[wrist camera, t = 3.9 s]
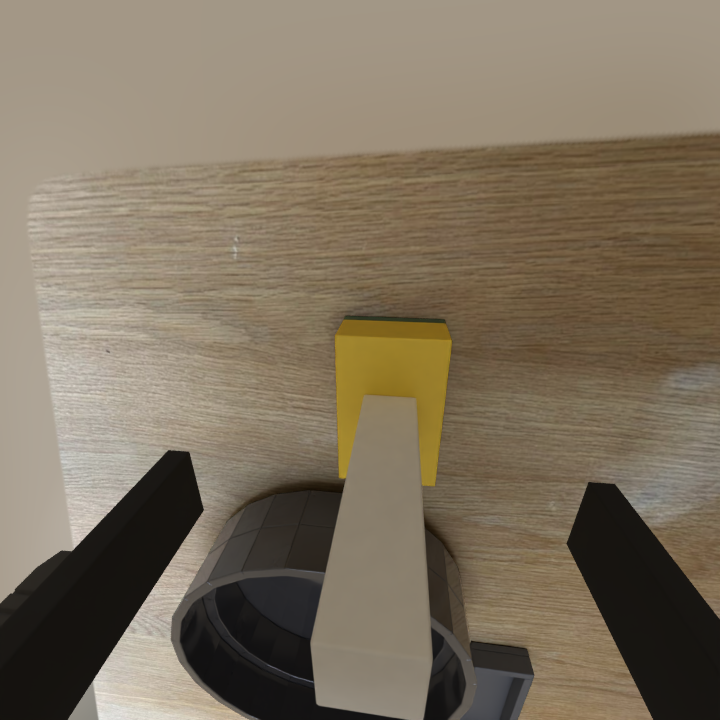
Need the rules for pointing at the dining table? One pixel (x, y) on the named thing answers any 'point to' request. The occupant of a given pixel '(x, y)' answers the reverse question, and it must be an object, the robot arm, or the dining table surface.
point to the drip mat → (499, 682)
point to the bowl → (298, 615)
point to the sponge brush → (382, 517)
